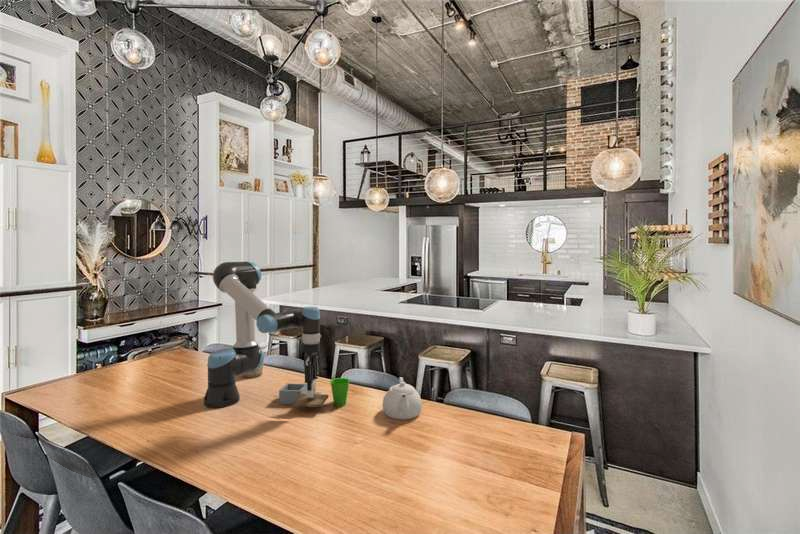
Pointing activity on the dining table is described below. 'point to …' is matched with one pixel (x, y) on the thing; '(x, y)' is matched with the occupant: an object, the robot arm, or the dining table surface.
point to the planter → (254, 372)
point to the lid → (311, 399)
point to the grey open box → (291, 393)
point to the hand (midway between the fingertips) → (311, 395)
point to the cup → (339, 390)
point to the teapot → (402, 401)
